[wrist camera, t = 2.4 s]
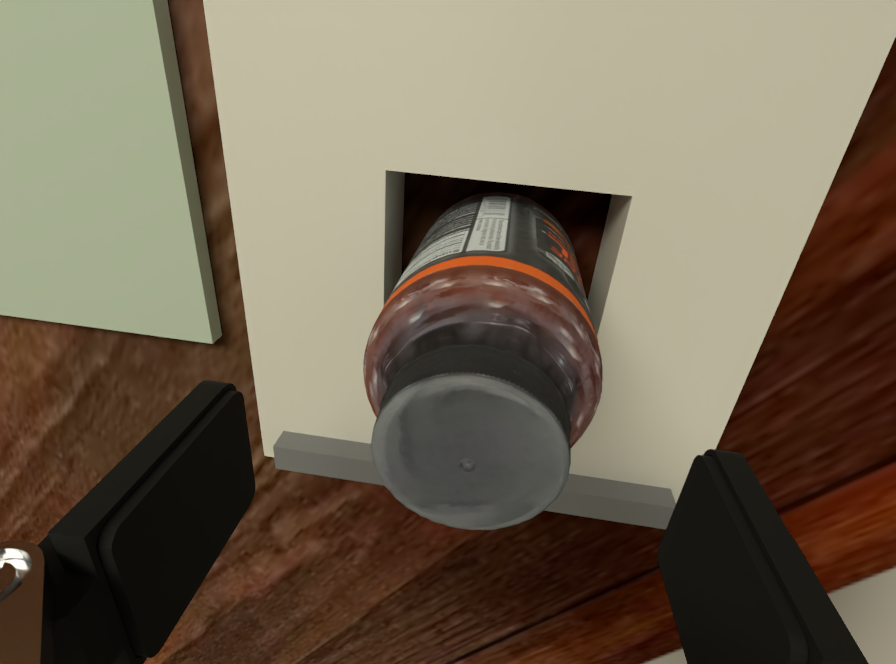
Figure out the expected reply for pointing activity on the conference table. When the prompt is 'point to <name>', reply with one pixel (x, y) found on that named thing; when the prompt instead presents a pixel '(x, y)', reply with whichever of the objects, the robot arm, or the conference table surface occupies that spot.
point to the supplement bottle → (483, 366)
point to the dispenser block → (546, 165)
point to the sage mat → (99, 172)
